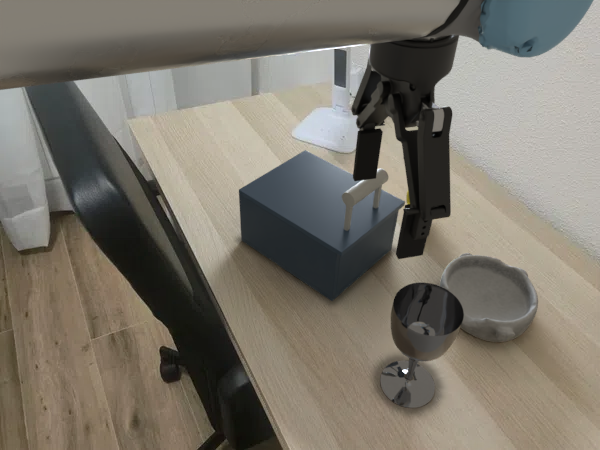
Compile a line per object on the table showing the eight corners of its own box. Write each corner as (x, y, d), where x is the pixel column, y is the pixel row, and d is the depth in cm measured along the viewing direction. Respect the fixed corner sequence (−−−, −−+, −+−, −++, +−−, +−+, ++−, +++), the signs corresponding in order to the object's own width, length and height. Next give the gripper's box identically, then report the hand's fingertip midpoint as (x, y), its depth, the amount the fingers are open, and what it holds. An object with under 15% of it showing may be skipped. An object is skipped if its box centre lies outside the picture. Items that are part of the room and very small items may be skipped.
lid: (404, 205, 85) (412, 165, 80) (341, 256, 76) (346, 214, 71) (305, 153, 95) (306, 115, 90) (238, 193, 86) (236, 153, 81)
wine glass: (415, 423, 68) (439, 348, 58) (364, 384, 72) (379, 308, 62) (449, 382, 72) (477, 307, 63) (399, 348, 76) (418, 272, 67)
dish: (514, 362, 75) (524, 339, 72) (420, 316, 81) (426, 293, 77) (543, 297, 84) (553, 274, 81) (457, 260, 90) (464, 237, 87)
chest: (391, 249, 91) (400, 203, 85) (331, 301, 82) (336, 254, 76) (303, 198, 101) (305, 154, 95) (241, 240, 92) (238, 193, 86)
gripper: (536, 85, 39) (468, 288, 53) (400, -24, 57) (376, 149, 71) (439, 96, 38) (396, 302, 52) (332, -20, 56) (321, 156, 70)
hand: (384, 213), depth 61 cm, fingers open, 13 cm apart
